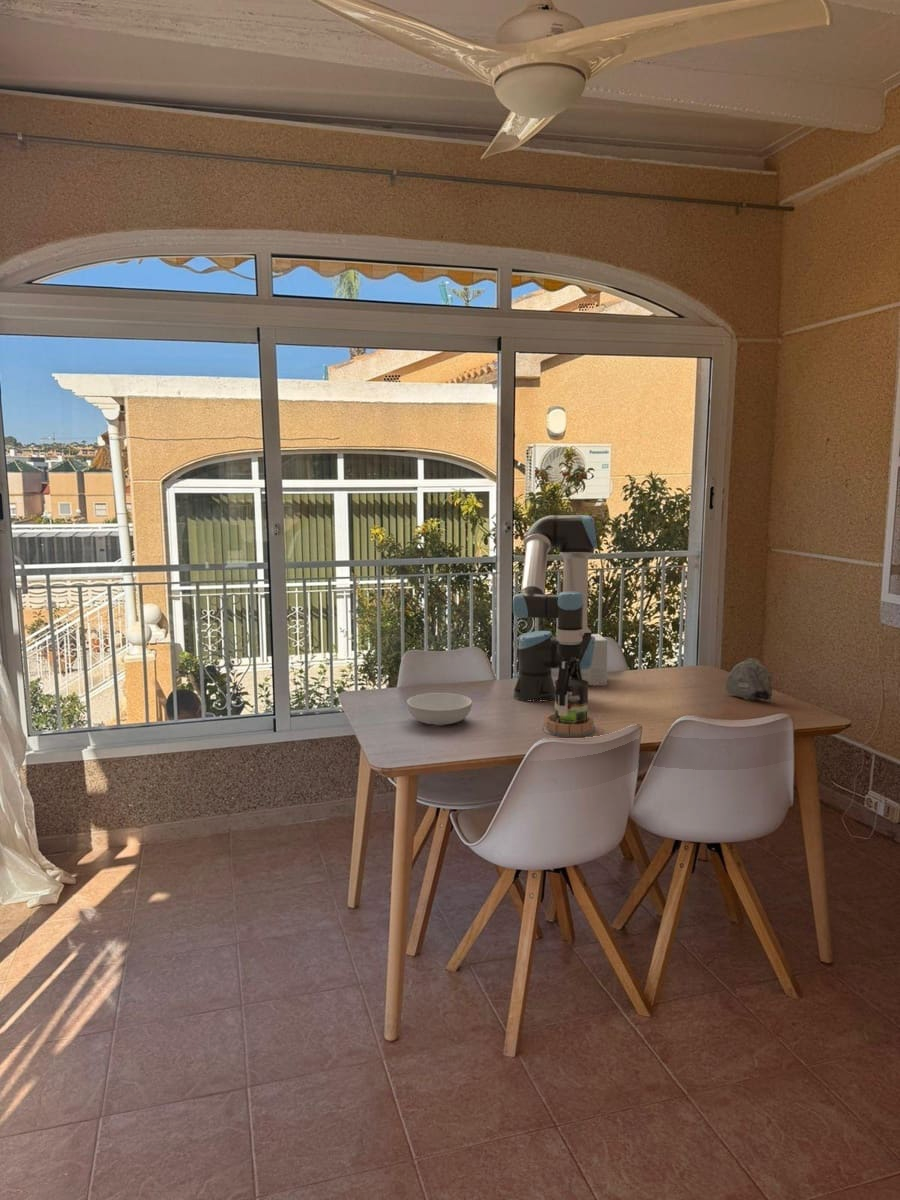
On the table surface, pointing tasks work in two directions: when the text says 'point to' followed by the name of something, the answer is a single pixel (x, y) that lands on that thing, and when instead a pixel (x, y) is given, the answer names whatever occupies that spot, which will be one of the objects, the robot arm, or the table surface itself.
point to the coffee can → (574, 702)
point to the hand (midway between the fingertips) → (569, 710)
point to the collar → (568, 727)
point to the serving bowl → (439, 708)
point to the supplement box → (597, 663)
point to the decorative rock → (749, 681)
